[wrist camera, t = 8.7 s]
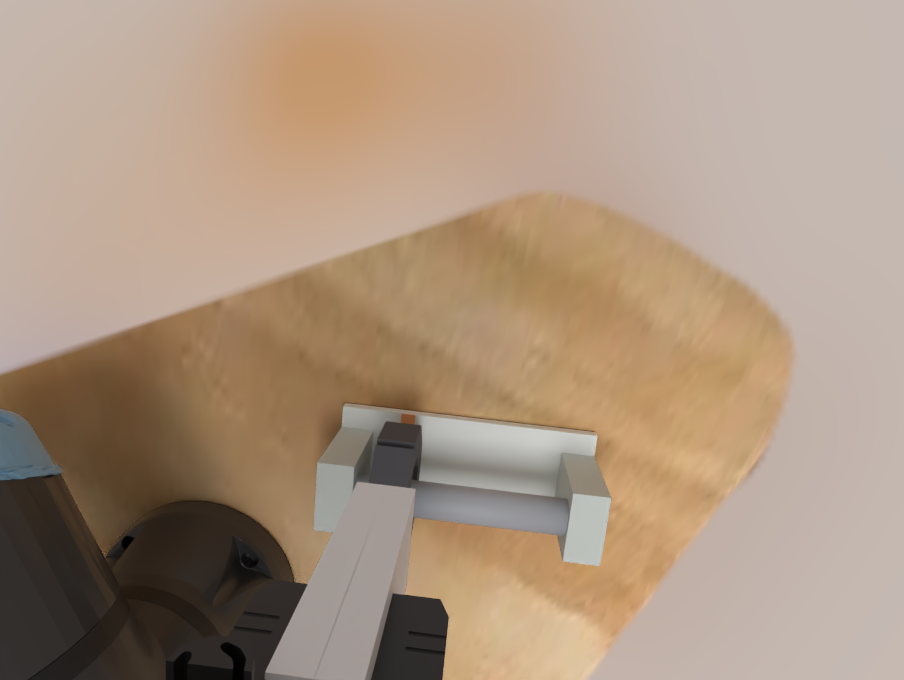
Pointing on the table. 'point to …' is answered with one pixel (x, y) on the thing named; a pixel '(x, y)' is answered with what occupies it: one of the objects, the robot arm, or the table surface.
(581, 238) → the table surface
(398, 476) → the o-ring
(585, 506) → the pipe rig
